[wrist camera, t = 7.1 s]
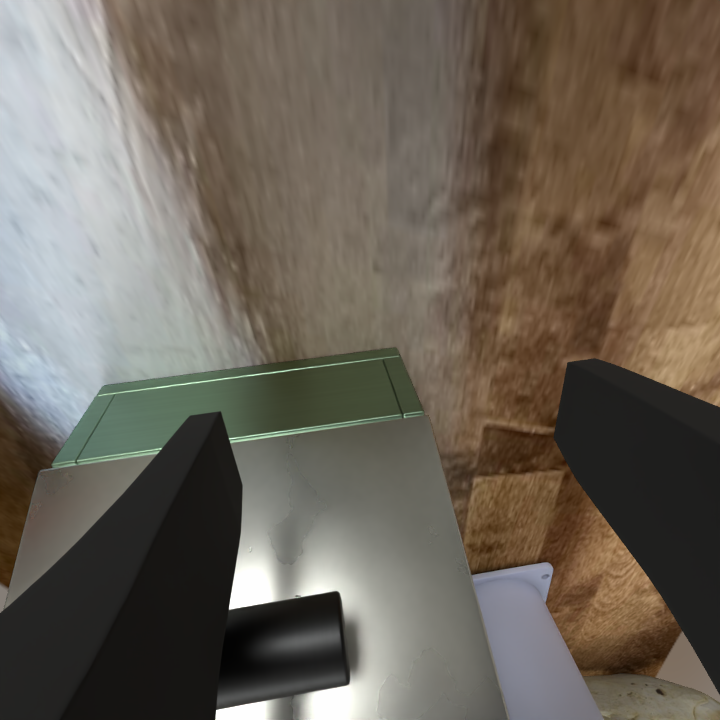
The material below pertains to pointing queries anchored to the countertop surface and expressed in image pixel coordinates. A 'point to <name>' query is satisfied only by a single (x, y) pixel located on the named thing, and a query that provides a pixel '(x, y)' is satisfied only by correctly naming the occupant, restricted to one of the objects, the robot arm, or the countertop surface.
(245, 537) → the bin lid
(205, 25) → the countertop surface
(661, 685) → the jawbone
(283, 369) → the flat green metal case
